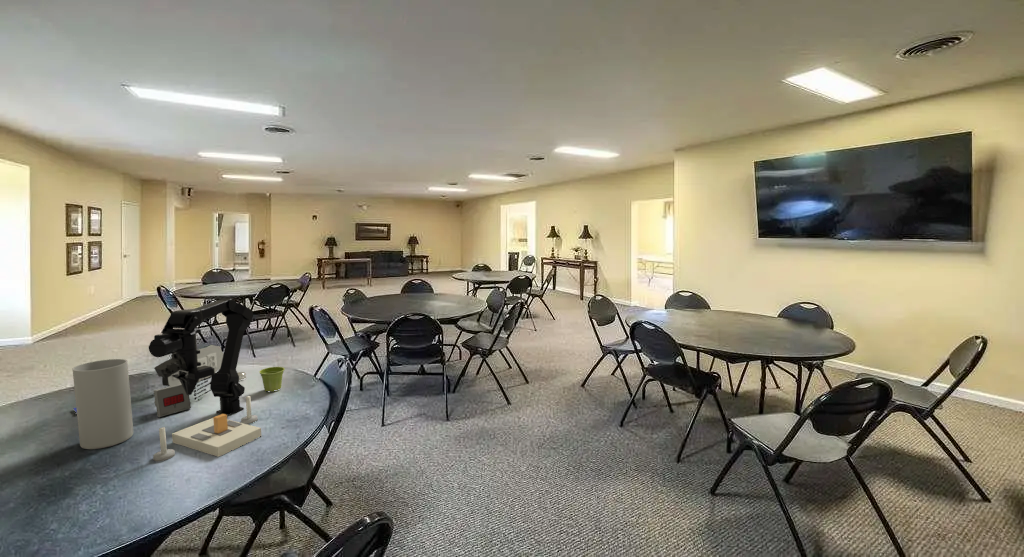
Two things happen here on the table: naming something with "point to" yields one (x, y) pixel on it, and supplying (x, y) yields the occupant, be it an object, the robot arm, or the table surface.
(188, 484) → the table surface
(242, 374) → the metal grooved wheel
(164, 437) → the cable post
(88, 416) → the cylinder vase
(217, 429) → the switch
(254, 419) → the cable post
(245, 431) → the breaker board
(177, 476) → the table surface
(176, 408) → the voltmeter
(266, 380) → the plant pot
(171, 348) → the robot arm
